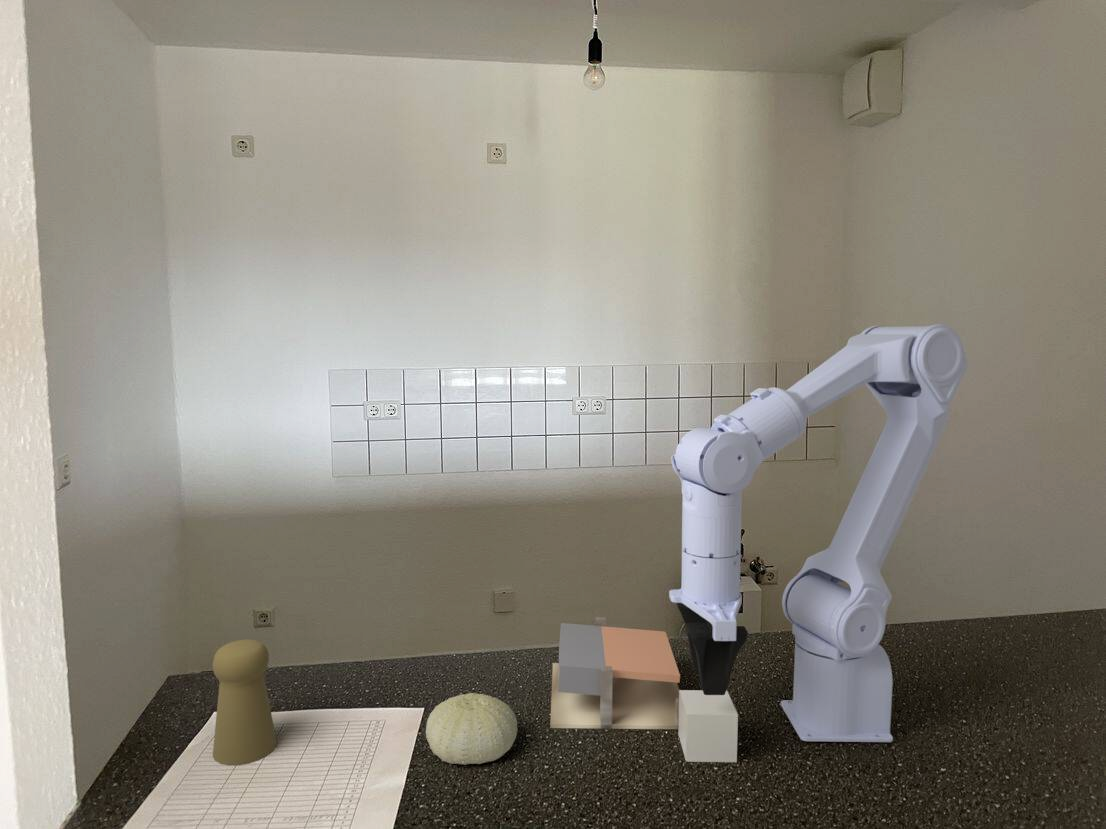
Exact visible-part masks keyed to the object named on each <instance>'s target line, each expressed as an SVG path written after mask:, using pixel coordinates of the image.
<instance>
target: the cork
mask: <svg viewBox="0 0 1106 829" xmlns="http://www.w3.org/2000/svg"><path fill="white" fill-rule="evenodd" d="M269 655H270V654H269V651H268V648H267V647H266V646H265V644H264V643H263V642H262V641H258V640H256V639H238V640H234V641H231V642H228V643H225V644H224V645H222V646H221V647H220V648H218V650H216V652H215V654H214V656H213V660H212V672H213V673H214V675H215V678H216V679H217V680H218V681H219V684H218V693H217V694H218V696H217V704H216V705H217V706H216V716H215V727H214V739H213V747H212V757H213V759H214V761H215V762H217V763H219V764H220V765H225V766H241V765H248V764H251V763H255V762H257V761H259V760H261V759H263V758H265V757H267V756H268V755H269V754H271V753H272V752H273V751H274V750H275V748H276V747H277V737H276V731H275V726H274V721H273V715H272V710H271V706H270V700H269V695H268V690H267V683H266V680H265V672H266V671H267V669H268V665H269V659H270V658H269V657H270V656H269Z"/></svg>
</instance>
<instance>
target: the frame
mask: <svg viewBox="0 0 1106 829" xmlns="http://www.w3.org/2000/svg"><path fill="white" fill-rule="evenodd" d="M606 619H607V618H606V616H595V626H604V627H607V626H606V625H607V624H606ZM551 674H552V676H551V694H550V695H551V702H550V721H549V722H550V723H549V724H550V725H549V726H550V729H599V730H600V729H602V730H603V729H608V730H609V729H612V730H613V729H614V730H617V729H618V730H620V729H621V730H678V727H679V690H680V688H679V685H678V683H676V682H664V681H652V680H640V679H628V678H617V677H612V674H613V670H612V666H601V696H599V695H587V694H576V693H564V692H558V674H559V662H552V673H551Z"/></svg>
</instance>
